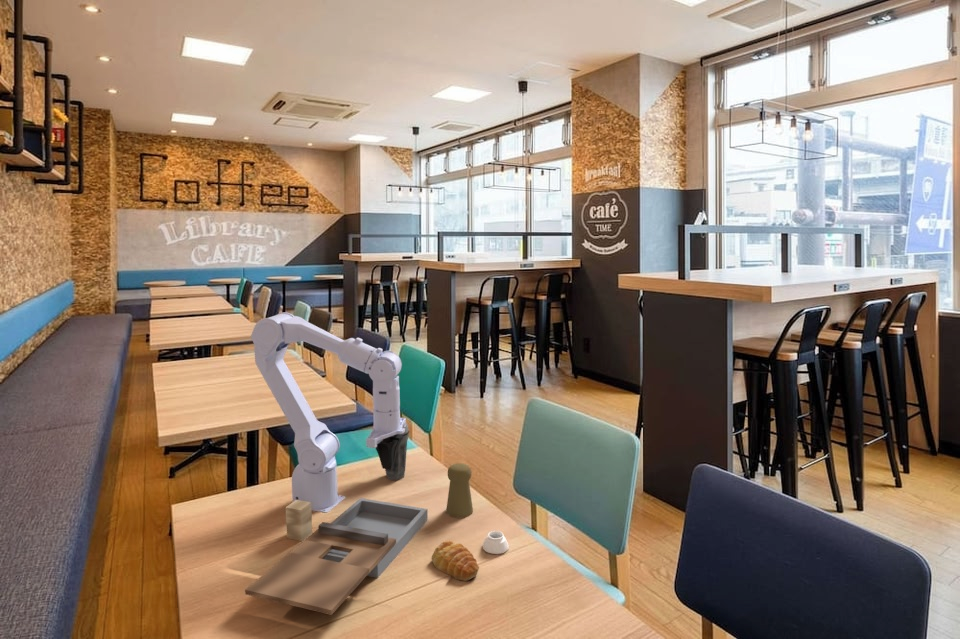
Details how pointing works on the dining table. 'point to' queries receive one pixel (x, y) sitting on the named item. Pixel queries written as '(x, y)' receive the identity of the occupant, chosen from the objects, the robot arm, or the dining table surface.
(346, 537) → the lid
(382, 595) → the dining table surface
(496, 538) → the white upturned bowl
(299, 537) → the block
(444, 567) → the pastry
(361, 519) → the shallow grey box
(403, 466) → the beverage cup
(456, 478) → the olive pawn figure
